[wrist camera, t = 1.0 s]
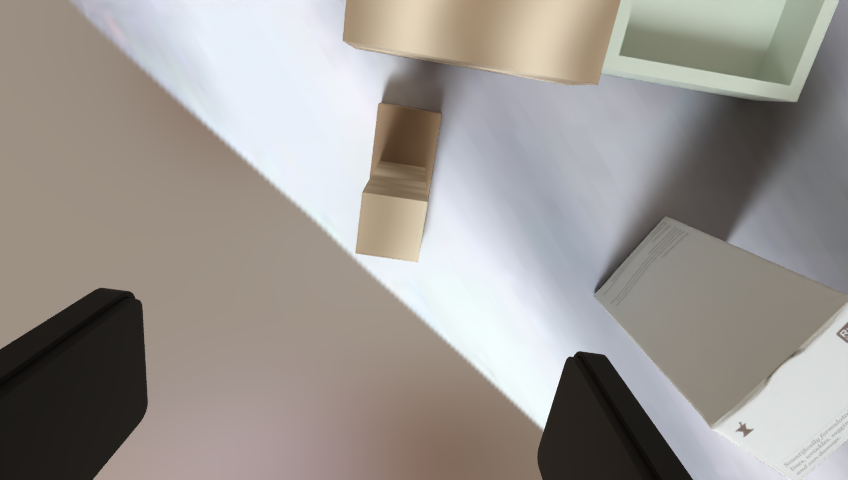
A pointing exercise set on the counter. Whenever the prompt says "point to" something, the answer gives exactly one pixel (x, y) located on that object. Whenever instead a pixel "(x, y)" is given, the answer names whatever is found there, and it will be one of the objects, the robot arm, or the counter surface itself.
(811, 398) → the skincare box
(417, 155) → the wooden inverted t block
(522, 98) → the counter surface
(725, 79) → the box
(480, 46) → the birch block
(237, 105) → the counter surface
